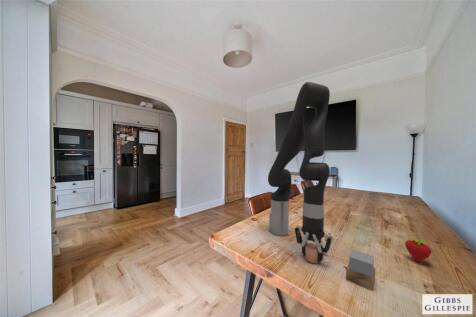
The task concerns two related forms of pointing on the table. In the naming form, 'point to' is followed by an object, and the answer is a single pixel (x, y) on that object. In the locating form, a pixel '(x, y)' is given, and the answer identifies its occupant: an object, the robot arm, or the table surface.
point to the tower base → (360, 278)
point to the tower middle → (361, 263)
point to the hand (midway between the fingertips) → (312, 257)
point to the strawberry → (418, 249)
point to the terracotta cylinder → (311, 253)
